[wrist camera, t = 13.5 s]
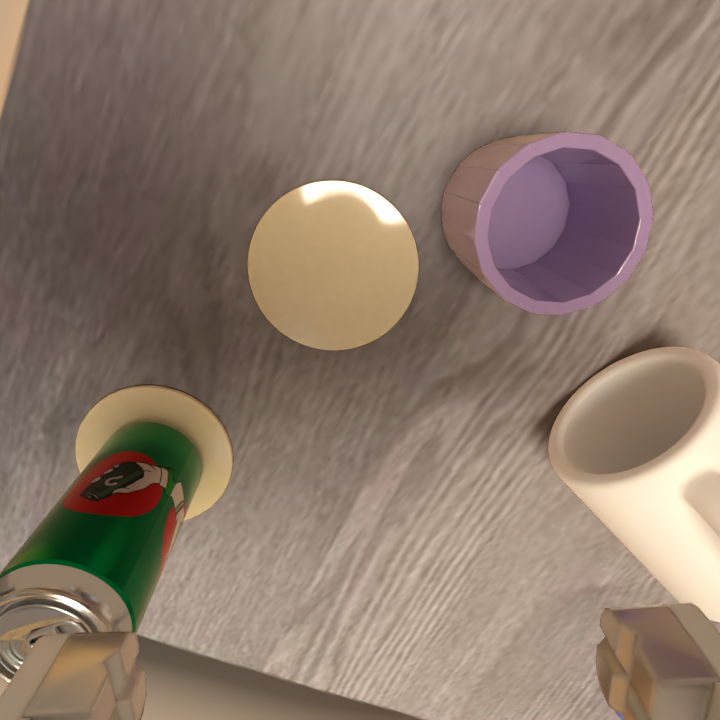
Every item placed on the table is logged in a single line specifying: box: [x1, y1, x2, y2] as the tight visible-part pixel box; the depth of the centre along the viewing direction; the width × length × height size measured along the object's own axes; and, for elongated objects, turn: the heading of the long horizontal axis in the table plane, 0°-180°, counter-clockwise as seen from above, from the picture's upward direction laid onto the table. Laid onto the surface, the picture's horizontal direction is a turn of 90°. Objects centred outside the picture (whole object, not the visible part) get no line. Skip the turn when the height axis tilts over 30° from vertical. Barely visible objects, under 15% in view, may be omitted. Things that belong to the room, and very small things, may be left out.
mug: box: [548, 347, 720, 622], centre depth 25 cm, size 8×10×12 cm
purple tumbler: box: [441, 132, 653, 315], centre depth 23 cm, size 6×6×7 cm
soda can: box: [0, 422, 202, 683], centre depth 24 cm, size 5×5×12 cm
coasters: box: [75, 180, 419, 520], centre depth 28 cm, size 12×21×1 cm, turn 153°
